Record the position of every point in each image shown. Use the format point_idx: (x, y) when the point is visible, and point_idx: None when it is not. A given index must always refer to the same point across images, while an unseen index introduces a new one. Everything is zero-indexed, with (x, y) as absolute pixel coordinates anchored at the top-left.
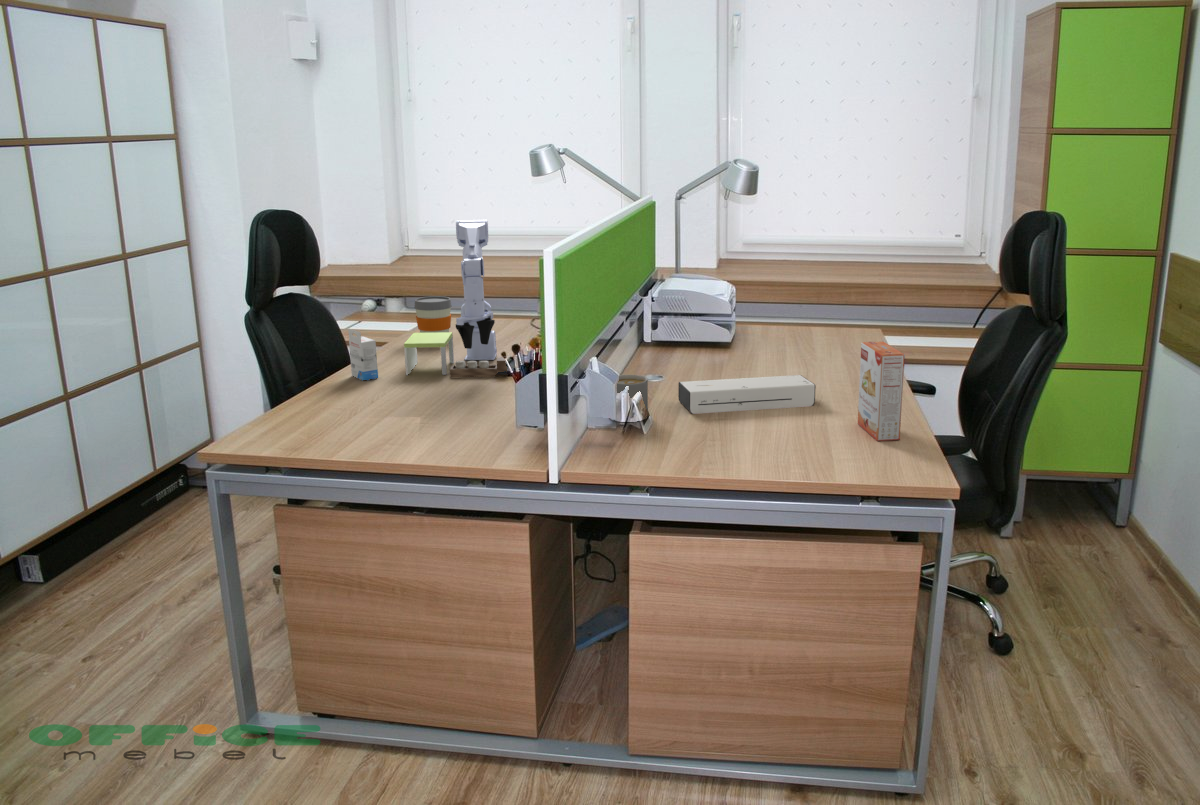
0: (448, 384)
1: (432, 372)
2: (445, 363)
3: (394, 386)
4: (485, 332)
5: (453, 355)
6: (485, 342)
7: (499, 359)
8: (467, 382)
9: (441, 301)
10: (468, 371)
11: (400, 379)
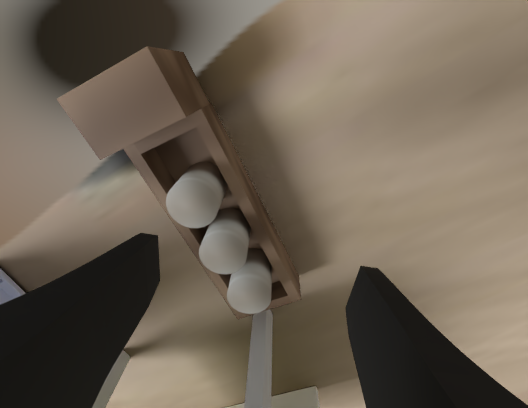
0: (401, 233)
1: None
2: (265, 340)
3: None
4: (89, 328)
5: None
6: (151, 254)
7: (146, 117)
8: (350, 180)
9: None
10: (268, 231)
11: None
